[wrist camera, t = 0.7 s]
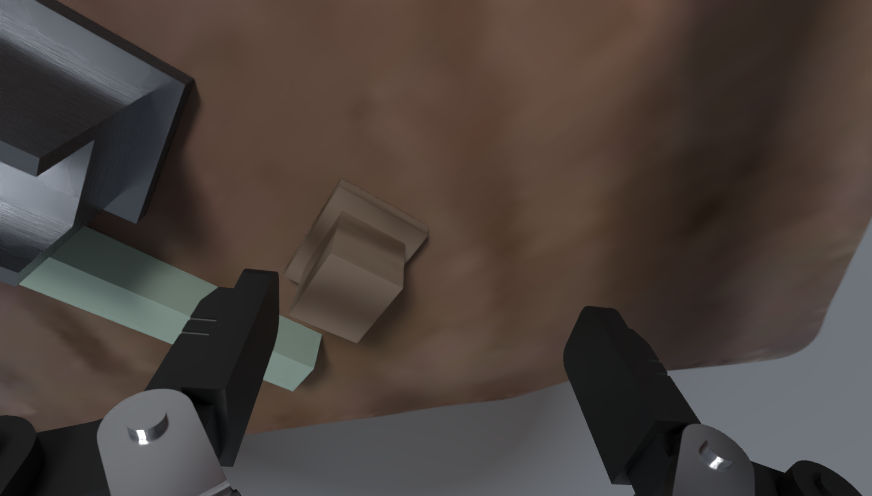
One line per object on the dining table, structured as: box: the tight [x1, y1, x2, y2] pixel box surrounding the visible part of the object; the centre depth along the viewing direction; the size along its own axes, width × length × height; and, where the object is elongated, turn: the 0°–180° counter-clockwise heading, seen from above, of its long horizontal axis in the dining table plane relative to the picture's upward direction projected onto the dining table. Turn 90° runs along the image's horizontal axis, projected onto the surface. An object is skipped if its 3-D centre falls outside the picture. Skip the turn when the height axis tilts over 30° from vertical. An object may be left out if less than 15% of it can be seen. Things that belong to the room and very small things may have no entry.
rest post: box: [283, 178, 428, 343], centre depth 30 cm, size 9×7×6 cm
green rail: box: [19, 226, 322, 391], centre depth 33 cm, size 4×24×4 cm, turn 52°
